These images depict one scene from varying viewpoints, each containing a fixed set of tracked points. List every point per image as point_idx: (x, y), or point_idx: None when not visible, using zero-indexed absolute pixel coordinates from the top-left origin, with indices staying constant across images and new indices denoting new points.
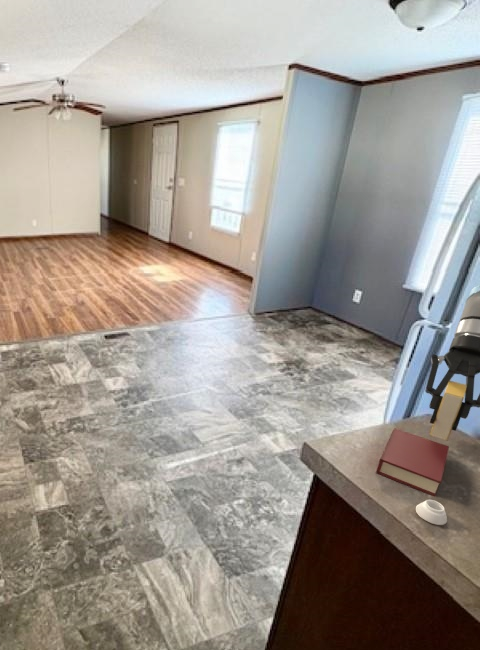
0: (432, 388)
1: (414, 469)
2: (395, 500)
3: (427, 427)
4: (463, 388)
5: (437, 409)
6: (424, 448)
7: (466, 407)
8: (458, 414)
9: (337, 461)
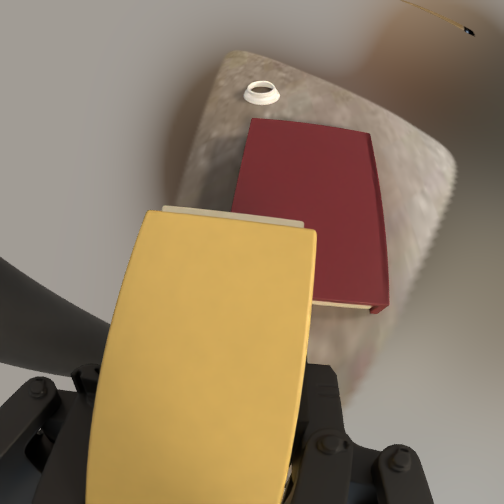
0: (369, 481)
1: (303, 127)
2: (313, 91)
3: None
4: (107, 469)
5: None
6: None
7: None
8: None
9: (418, 136)
